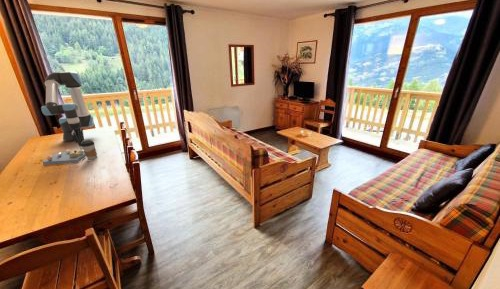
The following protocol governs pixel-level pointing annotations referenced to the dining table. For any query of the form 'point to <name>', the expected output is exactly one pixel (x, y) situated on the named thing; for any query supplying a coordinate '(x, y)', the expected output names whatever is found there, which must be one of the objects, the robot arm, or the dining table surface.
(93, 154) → the coffee cup
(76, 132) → the robot arm
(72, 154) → the brass cover
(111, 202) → the dining table surface
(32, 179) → the dining table surface
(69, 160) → the board
